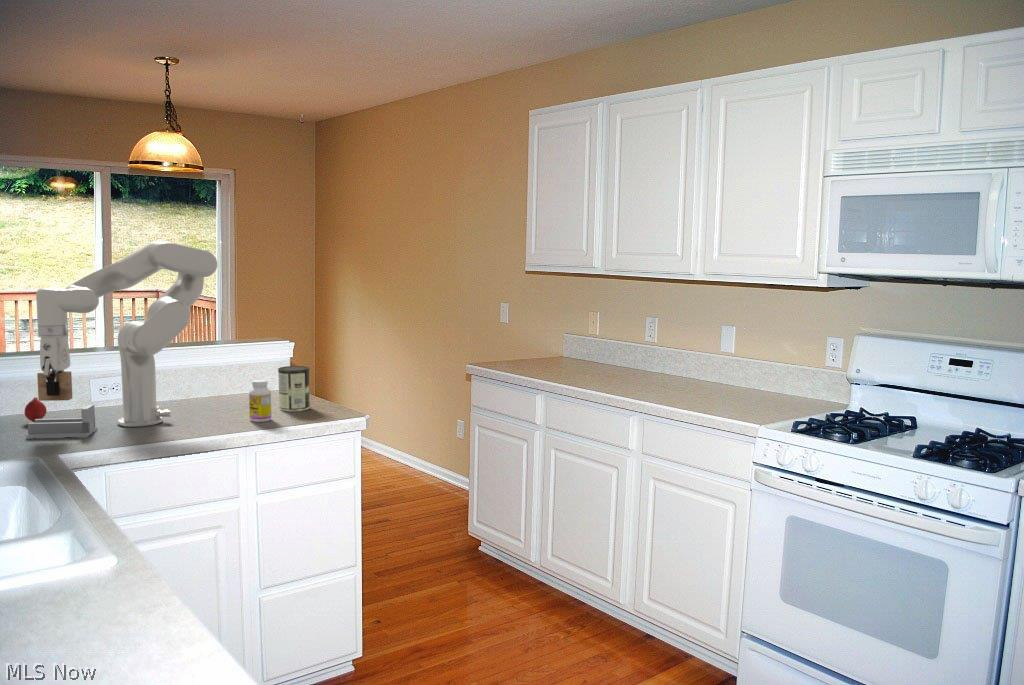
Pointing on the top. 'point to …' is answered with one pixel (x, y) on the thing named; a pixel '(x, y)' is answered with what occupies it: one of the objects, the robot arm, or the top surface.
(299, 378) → the coffee can
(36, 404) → the onion
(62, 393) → the door slab
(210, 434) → the top surface
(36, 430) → the track
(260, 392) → the supplement bottle
